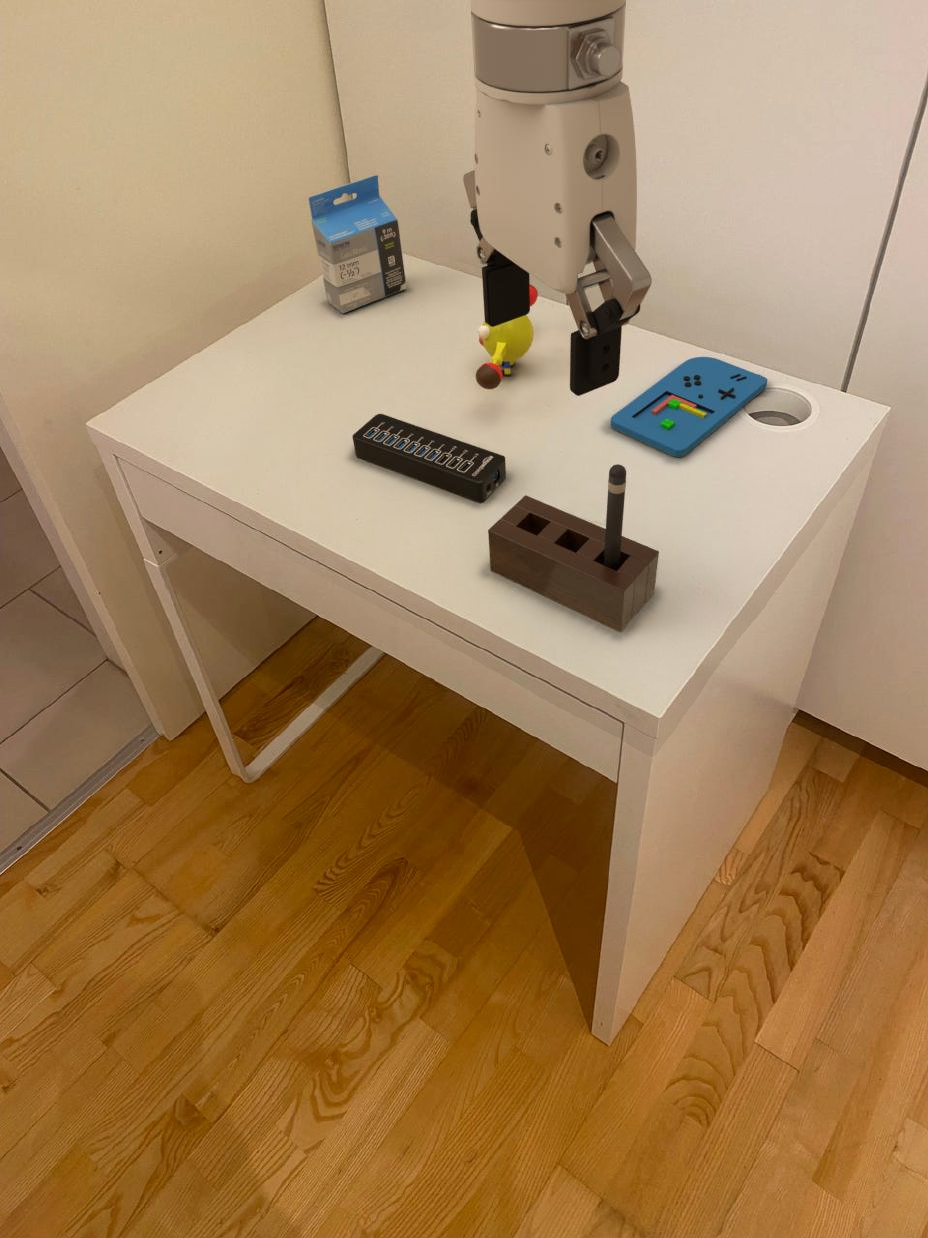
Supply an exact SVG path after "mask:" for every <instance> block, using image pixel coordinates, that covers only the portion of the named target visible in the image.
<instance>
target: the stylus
mask: <svg viewBox="0 0 928 1238" xmlns="http://www.w3.org/2000/svg"><path fill="white" fill-rule="evenodd" d="M626 488H627V469H626V467H625V466H624V465H622V464H619V463H617V464H613V465H612V466H611V467H610V468H609V471H608V479H607V498H606V502H607V503H606V516H605V517H606V519H605V529H606V533H605V551H604V566H606V567H609V568H611V569H613V570H616V571H617V570H618V569H619V567H620V553H621V540H622V536H623V525H624V511H625V498H626Z"/></svg>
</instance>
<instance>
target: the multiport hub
mask: <svg viewBox="0 0 928 1238" xmlns="http://www.w3.org/2000/svg"><path fill="white" fill-rule="evenodd" d="M351 437H352V442H353V447H354V453H355V457H356V458H358V459H360V460H363V461H365V462H367V463H372V464H374V465H377V466H379V467H382V468H385V469H387V470H390V471H393V472H395V473H398V474H400V475H403V476H406V477H408V478H411V479H414V480H416V481H419V482H422V483H425V484H427V485H430V486H433V487H434V488H438V489H439V490H440V489H441V490H443V491H446V492H449V493H451V494H454V495H457V496H460V497H461V498H465V499H467V500H470V501H473V502H475V503H479V504H482V503H484V502H486V500H487V499H489V497H491V495H492V494H493V493H494V492H495V491H496V490H497V489H498V488H499V487H500V486H501V485H502V484H503V482H505V480H506V479H507V467H506V464H507V463H506V457H505V456H504V455H503V454H499V453H497V452H494V451H491V450H488V449H485V448H482V447H480V446H476V445H474V444H470V443H468V442H465V441H462V440H459V439H457V438H454V437H450V436H447V435H446V434H445V435H444V434H441V433H439V432H436V431H433V430H430V429H427V428H424V427H421V426H419V425H415V424H413V423H410V422H407V421H404V420H402V419H398V418H396V417H393V416H389V415H386V414H384V413H377V414H375V415H373V417H372V418H371V419H369V420H368V421H367V422H366V423H365V424H364V425H362V426H361V427H360V428H359V429H357V431H356V432H354V433H353V435H352V436H351Z"/></svg>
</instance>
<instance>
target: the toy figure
mask: <svg viewBox="0 0 928 1238" xmlns="http://www.w3.org/2000/svg"><path fill="white" fill-rule="evenodd" d="M538 297H539V292H538V290H537V288H536V287H535V286H534V285H532V284H530V308H531V307H533V306H534V305H535V303H536V302H537V299H538ZM534 334H535V333H534V326H533V323H532V321H531V320H530V318H529V316H528V314H527V315H524V316H522V317H519V318H516V319H514V320H511V321H508V322H505V323H503V324H500V325H497V326H494V327H491V326H489V325H488V324H487V323H486V322H485V321H484V322H483V324H482V325H480V326H479V327H478V330H477V335H478V337H479V338H478V342H479V344H480V345H481V346H482V347H484V350H485V351H486V352H487V353H488V354H489V355H490V356H491V357H490V358H491V359H490V361H491V362H486V363H483V364H482V365H480V366H479V367H478V369H477V370H476V372H475V380H476V382H477V384H478V386H479V387H482V389H485V390H494V389H496V388H498V387H499V385H500V384H501V383H502V380H503V377H511V376H512V373H511V369H512V368H513V367H515V366H516V364H517V362H516V360H519V359H520V358H522V357H524V356H525V355H526V354H527V353H528V351H529V350H530V348H531V347H532V344H533V341H534ZM500 365H501V367H503V369H502V368H501V367H500Z"/></svg>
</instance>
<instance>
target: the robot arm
mask: <svg viewBox="0 0 928 1238" xmlns="http://www.w3.org/2000/svg"><path fill="white" fill-rule="evenodd" d="M469 2H470V20H471V35H472V40H471V41H472V55H473V56H472V57H473V77H474V78H473V79H474V85H475V88H476V91H475V92H476V93H475V107H474V108H475V109H474V169H473V170H470V171H469V172H466V173H464V174H463V178H462V181H463V186H464V189H465V192H466V196H467V199H468V203H469V207H470V209H472V210H471V211H470V214H469V216H470V219H469V222H470V225H471V226H472V227H473V230H474V232H475V234H476V236H477V239H478V241H479V242H478V244H477V246H476V257H477V260H478V261H479V262H480V264H482V265H485V266H481V278H482V279H481V280H482V297H483V299H482V300H483V315H484V322H486V323H487V324H488V325H489V326H491V327H494V326H497V325H500V324H503V323H505V322H508V321H511V320H514V319H516V318H519V317H522V316H524V315H527V316H528V314H529V313H530V312H531V307H530V285H531V283H530V275H531V276H532V277H534V278H536V279H537V280H538V281H540V282H541V283H543V284H544V285H546V286H548V287H550V288H551V289H552V290H555V291H556V292H559V293H561V294H564V295H565V297H566V300H567V303H568V306H569V308H570V311H571V314H572V316H573V320H574V322H575V325H576V327H577V330H575V331H573V332H570V346H569V348H570V349H569V350H570V352H569V390H570V392H572V393H573V394H574V395H575V396H577V397H581V396H583V395H585V394H588V393H590V392H592V391H595V390H597V389H600V388H602V387H605V386H607V385H610V384H612V383H615V382H616V381H617V380H618V379H619V376H620V368H621V367H620V365H621V349H622V331H623V330H622V329H623V327H624V326H626V325H628V324H629V323H630V321H631V319H633V318H634V317H635V316H636V315H638V314H639V313H640V312H641V304H642V303H643V301H644V300H645V298H646V296H647V294H648V292H649V290H650V289H651V286H652V281H653V279H652V275H651V273H650V272H649V270H648V268H647V266H645V263H644V262H643V261H642V259H641V257H640V256H639V255H638V254H637V252H636V248H637V247H636V245H637V244H636V243H637V221H638V219H637V217H638V213H637V212H638V176H637V175H638V173H637V172H638V171H637V149H636V148H637V147H636V134H635V125H634V123H635V122H634V114H633V113H634V112H633V106H632V99H631V94H630V87H629V85H628V84H626V83H625V82H623V81H622V79H623V75H624V74H623V73H624V49H625V48H624V47H625V30H626V29H625V28H626V27H625V26H626V10H627V9H626V7H627V0H470V1H469ZM591 263H592V264H593V268H594V270H595V271H594V272H591V273H589V274H585V275H583V276H580V277H579V275H580V274H583V273H584V270H585V267H586V266H587V265H589V264H591ZM597 286H598V287H599V290H600V293H601V295H602V298H603V301H604V302H603V303H601V304H600V305H599V306H598V307H596V308H595V309H594V310H593V309H592V307H591V304H590V302H589V298H588V296H587V294H586V293H587V292H586V290H589V289H592V288H595V287H597Z"/></svg>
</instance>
